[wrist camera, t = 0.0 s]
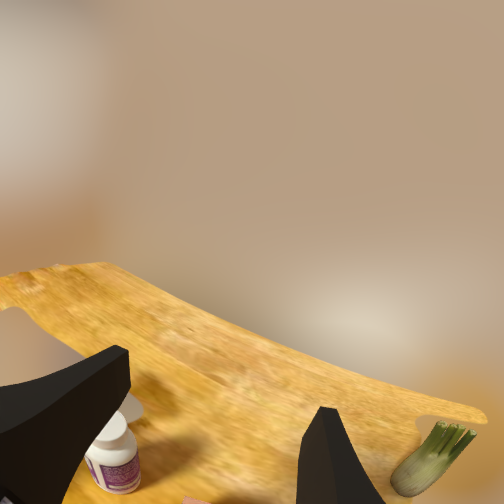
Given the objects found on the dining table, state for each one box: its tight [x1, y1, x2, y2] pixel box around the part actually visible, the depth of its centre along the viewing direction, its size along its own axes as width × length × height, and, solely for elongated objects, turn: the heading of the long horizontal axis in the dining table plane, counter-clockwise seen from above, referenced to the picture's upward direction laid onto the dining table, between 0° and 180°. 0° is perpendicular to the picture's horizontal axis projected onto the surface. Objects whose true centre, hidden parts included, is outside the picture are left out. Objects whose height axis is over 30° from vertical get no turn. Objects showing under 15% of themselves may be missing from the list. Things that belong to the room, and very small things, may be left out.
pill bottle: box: [84, 411, 141, 494], centre depth 19 cm, size 5×5×10 cm
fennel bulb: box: [391, 421, 477, 497], centre depth 21 cm, size 6×5×12 cm
